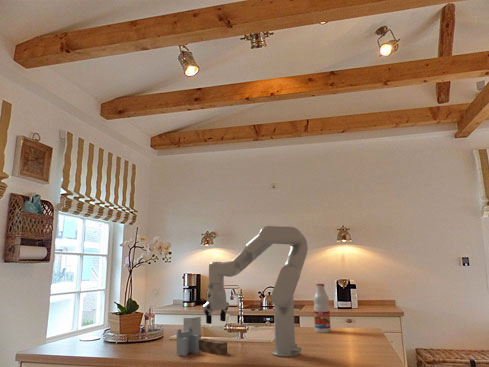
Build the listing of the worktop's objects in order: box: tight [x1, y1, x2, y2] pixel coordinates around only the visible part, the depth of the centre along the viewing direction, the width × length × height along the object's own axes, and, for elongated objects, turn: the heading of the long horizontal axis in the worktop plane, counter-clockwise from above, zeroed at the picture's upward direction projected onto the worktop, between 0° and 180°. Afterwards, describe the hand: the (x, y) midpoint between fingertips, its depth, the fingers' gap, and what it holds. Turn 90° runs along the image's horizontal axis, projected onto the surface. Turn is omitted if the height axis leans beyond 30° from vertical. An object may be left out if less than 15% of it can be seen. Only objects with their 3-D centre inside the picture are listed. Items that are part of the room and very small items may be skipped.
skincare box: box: [183, 315, 202, 340], centre depth 216 cm, size 8×6×15 cm
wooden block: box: [199, 338, 228, 356], centre depth 201 cm, size 16×4×5 cm, turn 48°
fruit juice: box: [313, 283, 331, 334], centre depth 247 cm, size 9×9×28 cm
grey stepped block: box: [176, 327, 200, 357], centre depth 199 cm, size 6×9×12 cm
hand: (216, 322), depth 201 cm, fingers open, 9 cm apart
